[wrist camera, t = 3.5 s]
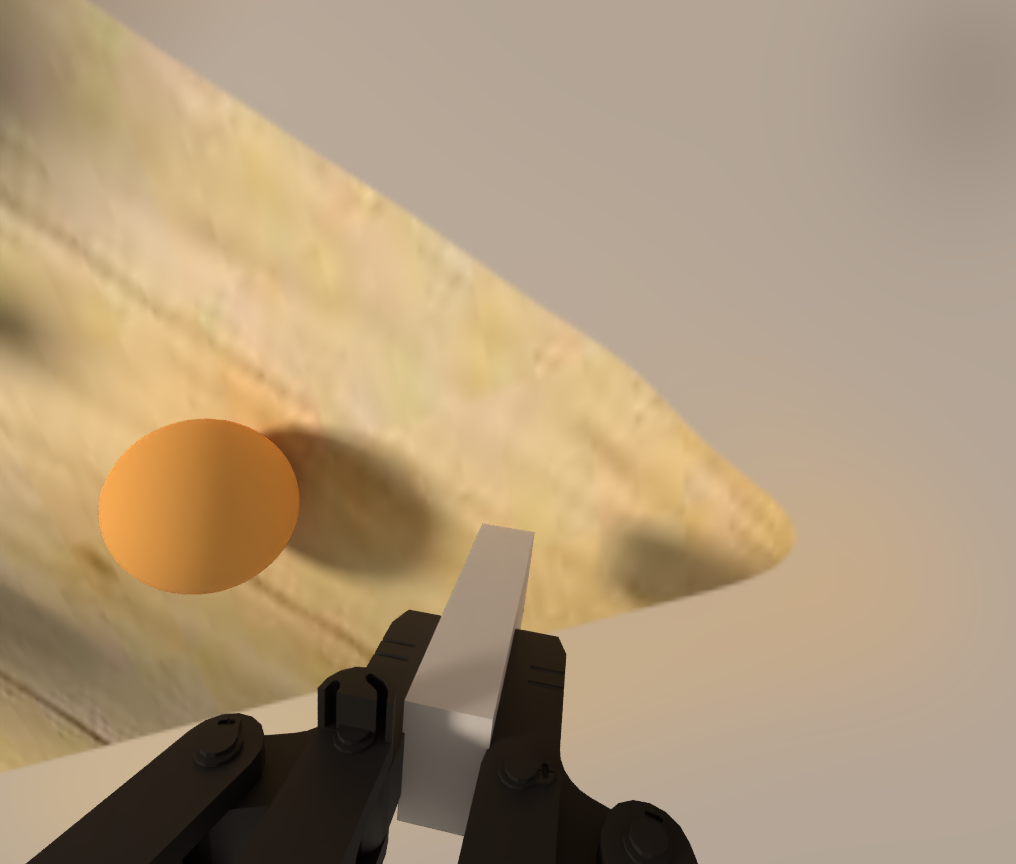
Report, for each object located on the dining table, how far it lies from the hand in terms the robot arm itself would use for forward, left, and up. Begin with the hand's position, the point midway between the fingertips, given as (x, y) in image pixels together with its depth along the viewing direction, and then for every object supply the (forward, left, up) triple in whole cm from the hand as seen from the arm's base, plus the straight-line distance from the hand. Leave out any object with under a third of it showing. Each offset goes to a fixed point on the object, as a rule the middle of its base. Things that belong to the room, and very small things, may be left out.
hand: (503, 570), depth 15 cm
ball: (-10, 0, -1) cm, 10 cm away
